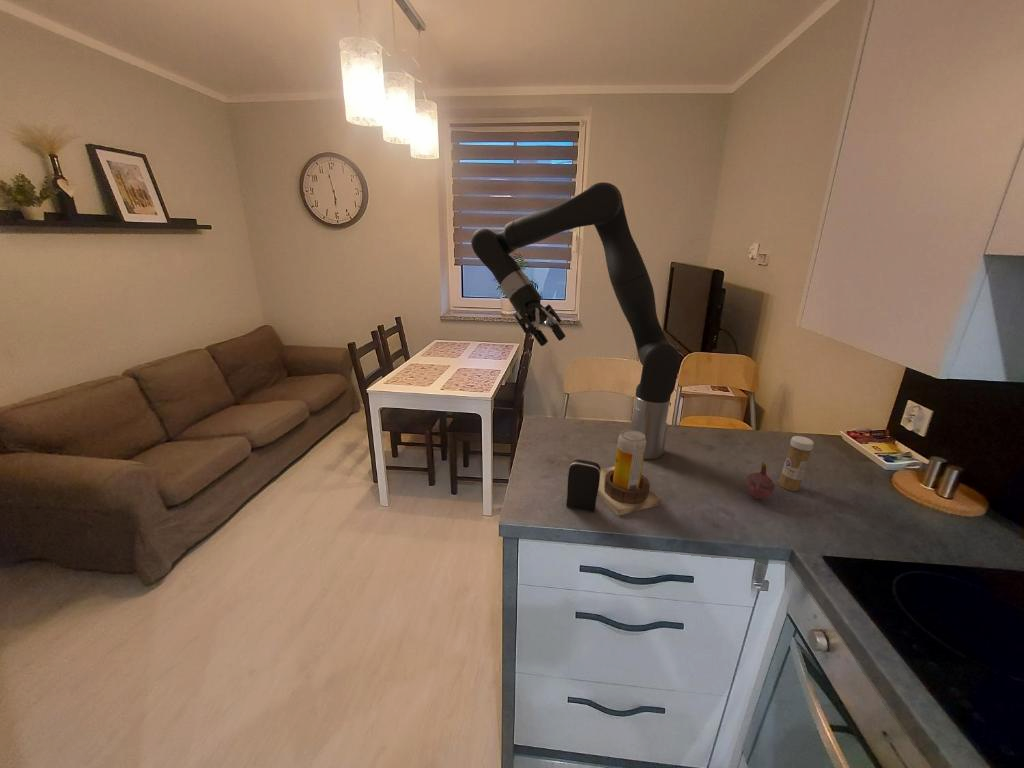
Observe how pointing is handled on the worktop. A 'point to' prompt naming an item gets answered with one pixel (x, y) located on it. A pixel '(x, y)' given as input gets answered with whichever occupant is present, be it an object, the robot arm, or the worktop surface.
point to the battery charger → (583, 485)
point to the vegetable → (760, 484)
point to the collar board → (625, 506)
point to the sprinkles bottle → (796, 463)
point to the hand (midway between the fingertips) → (554, 341)
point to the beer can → (629, 459)
